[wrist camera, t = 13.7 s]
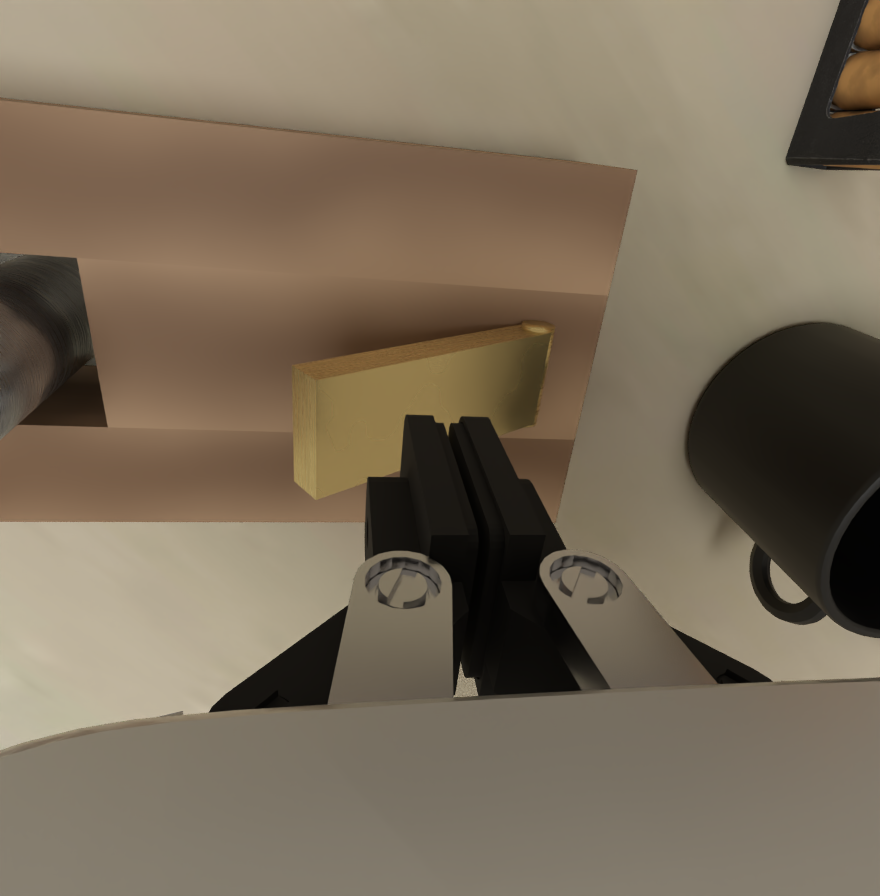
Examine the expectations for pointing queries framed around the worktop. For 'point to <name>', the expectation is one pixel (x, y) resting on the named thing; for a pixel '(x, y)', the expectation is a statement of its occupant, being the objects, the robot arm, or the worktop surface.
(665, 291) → the worktop surface
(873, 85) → the ammunition clip
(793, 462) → the mug
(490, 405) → the bar
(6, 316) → the steel pin
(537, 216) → the walnut block
